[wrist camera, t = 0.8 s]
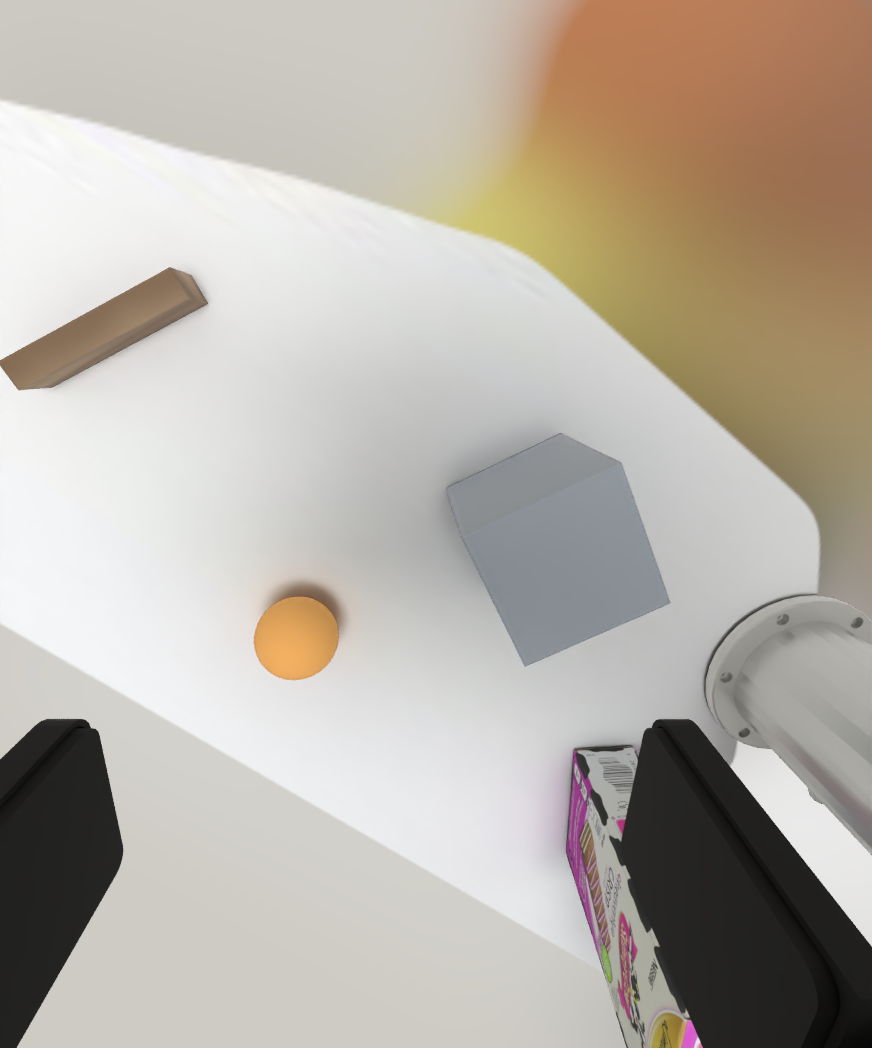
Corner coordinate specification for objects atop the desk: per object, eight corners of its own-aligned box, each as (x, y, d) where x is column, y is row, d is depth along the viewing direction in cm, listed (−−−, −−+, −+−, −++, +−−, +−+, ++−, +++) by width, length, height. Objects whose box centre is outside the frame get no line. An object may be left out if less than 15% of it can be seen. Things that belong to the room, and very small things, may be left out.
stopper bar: (207, 303, 26) (188, 298, 24) (51, 387, 27) (18, 390, 25) (191, 275, 26) (169, 267, 23) (33, 361, 27) (-3, 361, 24)
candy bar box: (568, 747, 38) (684, 1020, 22) (632, 742, 38) (791, 1010, 22) (561, 853, 41) (656, 1153, 26) (619, 849, 41) (748, 1143, 26)
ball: (356, 631, 33) (348, 676, 28) (291, 660, 34) (273, 710, 29) (319, 570, 32) (304, 608, 27) (251, 602, 32) (225, 645, 27)
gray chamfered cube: (601, 539, 32) (670, 603, 24) (494, 588, 33) (525, 666, 24) (560, 433, 30) (621, 462, 21) (445, 488, 30) (461, 537, 22)
